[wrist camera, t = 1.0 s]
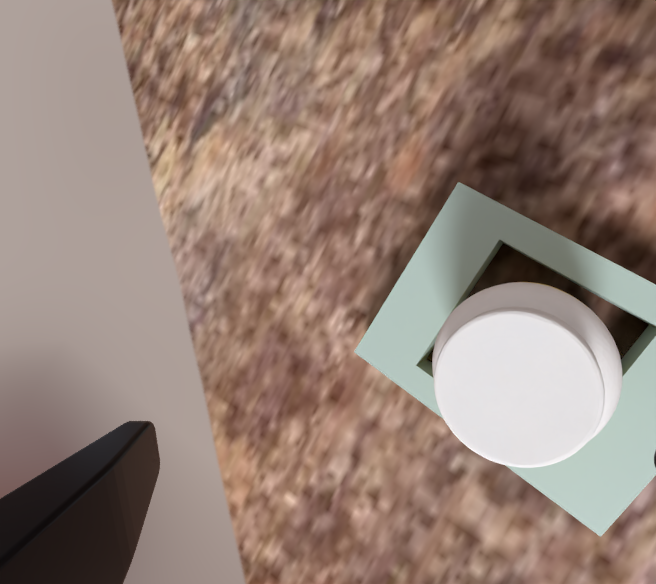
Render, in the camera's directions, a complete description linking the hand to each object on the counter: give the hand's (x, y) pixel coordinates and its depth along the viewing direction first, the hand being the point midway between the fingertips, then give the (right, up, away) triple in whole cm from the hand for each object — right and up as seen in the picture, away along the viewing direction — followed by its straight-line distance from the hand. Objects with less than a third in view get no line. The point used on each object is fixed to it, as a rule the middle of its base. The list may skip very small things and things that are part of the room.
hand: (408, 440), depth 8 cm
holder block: (+7, 0, +12) cm, 14 cm away
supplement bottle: (+8, 0, +12) cm, 14 cm away
